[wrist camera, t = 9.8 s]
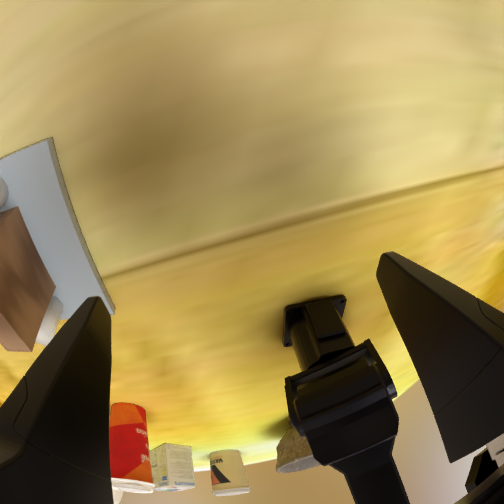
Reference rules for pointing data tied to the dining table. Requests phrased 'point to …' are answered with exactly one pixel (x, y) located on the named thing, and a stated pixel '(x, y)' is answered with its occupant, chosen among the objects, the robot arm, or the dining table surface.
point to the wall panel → (51, 230)
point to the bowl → (294, 453)
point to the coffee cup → (228, 473)
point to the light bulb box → (172, 467)
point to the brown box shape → (21, 284)
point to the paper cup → (129, 449)
